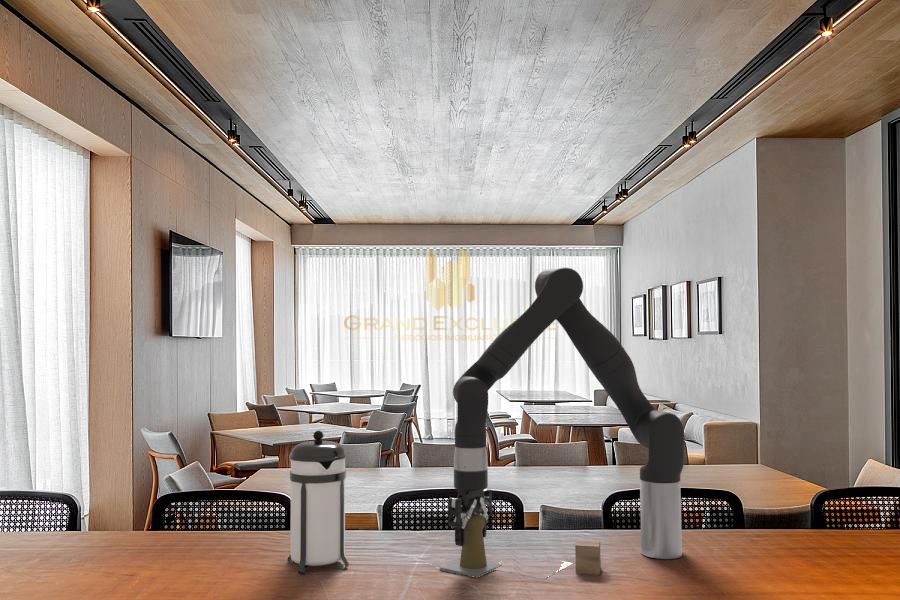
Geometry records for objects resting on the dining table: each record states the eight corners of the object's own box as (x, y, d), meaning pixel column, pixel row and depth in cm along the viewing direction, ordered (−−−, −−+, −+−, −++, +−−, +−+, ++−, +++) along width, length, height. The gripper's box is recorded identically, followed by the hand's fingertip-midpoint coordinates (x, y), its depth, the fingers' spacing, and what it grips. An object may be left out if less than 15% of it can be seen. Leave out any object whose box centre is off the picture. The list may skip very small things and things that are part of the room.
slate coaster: (464, 559, 175) (464, 556, 175) (502, 566, 170) (502, 563, 170) (439, 570, 167) (439, 567, 167) (478, 578, 161) (478, 575, 161)
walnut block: (577, 566, 170) (577, 539, 170) (600, 568, 168) (600, 540, 169) (575, 573, 165) (575, 545, 165) (599, 575, 164) (598, 546, 164)
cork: (485, 569, 166) (485, 518, 166) (457, 568, 166) (457, 517, 167) (488, 561, 171) (488, 511, 172) (461, 560, 172) (461, 510, 173)
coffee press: (366, 559, 175) (366, 428, 177) (326, 579, 161) (327, 436, 163) (303, 551, 183) (304, 424, 184) (260, 569, 168) (261, 432, 170)
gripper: (467, 473, 161) (467, 551, 161) (501, 464, 173) (502, 536, 172) (438, 470, 166) (438, 545, 165) (473, 461, 177) (474, 532, 177)
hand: (471, 541), depth 169 cm, fingers open, 8 cm apart
